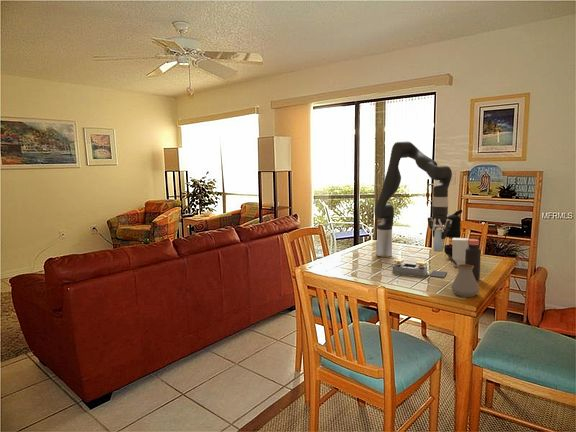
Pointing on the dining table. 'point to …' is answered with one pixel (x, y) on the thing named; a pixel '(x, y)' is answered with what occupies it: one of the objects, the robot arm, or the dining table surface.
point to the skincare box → (459, 250)
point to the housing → (409, 269)
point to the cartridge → (438, 241)
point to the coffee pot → (464, 280)
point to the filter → (453, 230)
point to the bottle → (473, 257)
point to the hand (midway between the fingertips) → (439, 238)
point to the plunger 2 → (421, 263)
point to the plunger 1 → (398, 261)
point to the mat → (438, 274)
